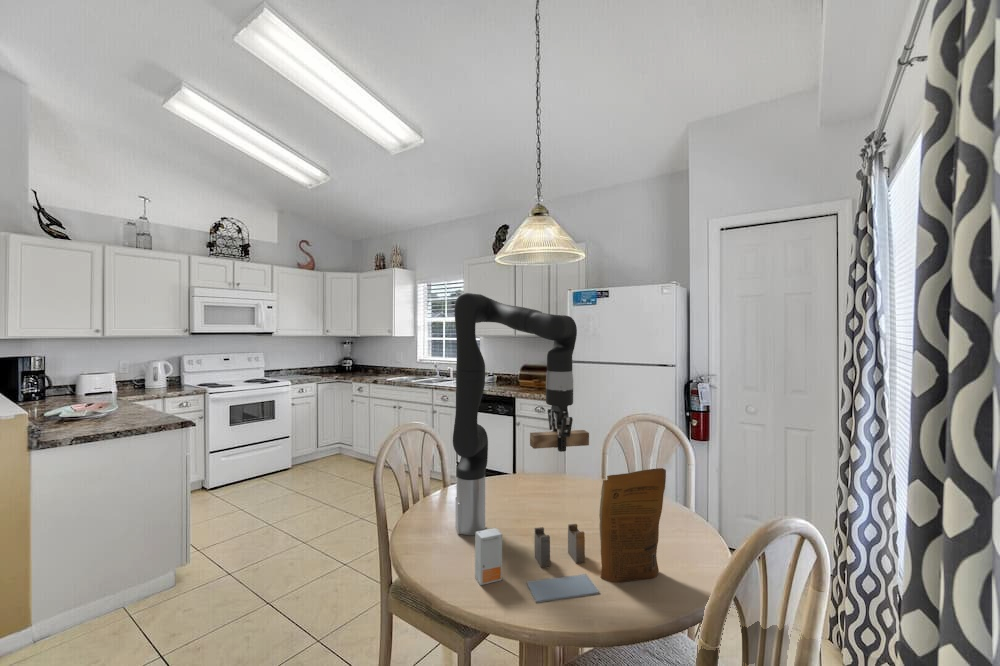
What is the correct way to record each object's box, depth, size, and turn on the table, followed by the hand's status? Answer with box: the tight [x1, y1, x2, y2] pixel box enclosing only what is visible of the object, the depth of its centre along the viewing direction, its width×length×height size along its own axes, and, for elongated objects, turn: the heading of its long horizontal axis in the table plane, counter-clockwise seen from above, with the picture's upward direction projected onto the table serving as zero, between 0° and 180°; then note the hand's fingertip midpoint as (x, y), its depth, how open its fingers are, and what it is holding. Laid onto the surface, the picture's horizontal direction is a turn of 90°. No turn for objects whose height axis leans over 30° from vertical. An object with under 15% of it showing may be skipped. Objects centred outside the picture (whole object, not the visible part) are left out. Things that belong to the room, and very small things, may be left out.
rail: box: [529, 429, 590, 450], centre depth 122 cm, size 16×4×4 cm, turn 103°
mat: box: [526, 573, 601, 603], centre depth 109 cm, size 16×8×1 cm, turn 103°
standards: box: [534, 523, 586, 569], centre depth 122 cm, size 12×6×8 cm, turn 103°
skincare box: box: [474, 527, 503, 586], centre depth 113 cm, size 6×4×12 cm
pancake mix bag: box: [598, 467, 667, 583], centre depth 114 cm, size 7×19×28 cm, turn 101°
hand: (559, 448), depth 122 cm, fingers closed on rail, 3 cm apart
